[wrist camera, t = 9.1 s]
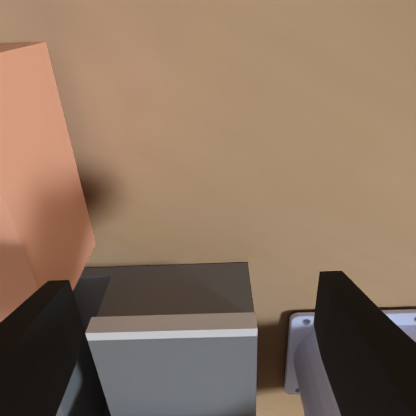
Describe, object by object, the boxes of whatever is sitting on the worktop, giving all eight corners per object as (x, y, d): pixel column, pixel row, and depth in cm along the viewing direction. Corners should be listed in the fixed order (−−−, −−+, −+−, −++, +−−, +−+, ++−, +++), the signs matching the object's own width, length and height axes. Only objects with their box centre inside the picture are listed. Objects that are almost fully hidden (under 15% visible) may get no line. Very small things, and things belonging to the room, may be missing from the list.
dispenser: (247, 255, 21) (269, 414, 13) (247, 397, 28) (261, 562, 20) (-60, 266, 22) (-222, 424, 14) (12, 402, 29) (-69, 563, 21)
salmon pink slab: (45, 42, 15) (-47, 63, 10) (95, 243, 20) (53, 331, 14) (-3, 44, 15) (-121, 67, 10) (59, 245, 20) (4, 332, 15)
